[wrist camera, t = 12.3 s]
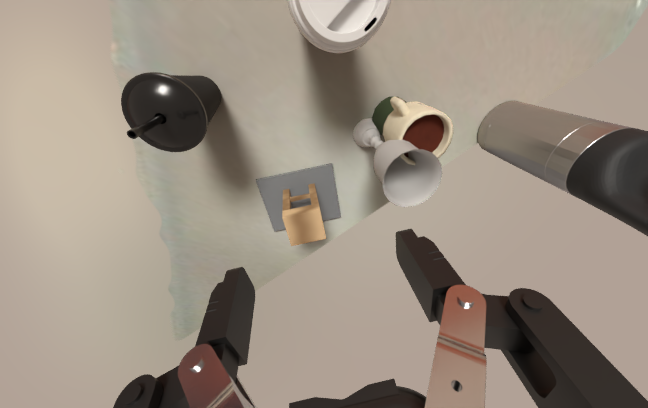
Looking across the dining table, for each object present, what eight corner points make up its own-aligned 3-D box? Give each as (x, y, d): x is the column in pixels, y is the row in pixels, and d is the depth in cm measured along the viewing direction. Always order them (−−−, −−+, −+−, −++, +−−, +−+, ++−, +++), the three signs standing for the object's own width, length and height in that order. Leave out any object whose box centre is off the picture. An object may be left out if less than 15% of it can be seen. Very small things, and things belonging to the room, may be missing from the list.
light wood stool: (314, 183, 46) (320, 209, 38) (320, 209, 49) (326, 238, 41) (282, 189, 45) (282, 218, 38) (290, 215, 49) (291, 246, 41)
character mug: (421, 127, 43) (467, 153, 32) (386, 152, 45) (419, 186, 34) (391, 72, 38) (434, 82, 27) (354, 103, 39) (380, 124, 28)
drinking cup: (170, 107, 36) (71, 157, 19) (180, 53, 33) (72, 58, 16) (223, 129, 39) (175, 190, 22) (237, 81, 36) (194, 110, 19)
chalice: (392, 141, 44) (448, 189, 29) (358, 159, 45) (394, 216, 30) (377, 103, 40) (433, 136, 25) (340, 124, 41) (372, 169, 26)
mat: (331, 163, 44) (332, 164, 44) (340, 215, 51) (340, 217, 51) (256, 179, 44) (255, 180, 44) (274, 229, 51) (274, 231, 50)
